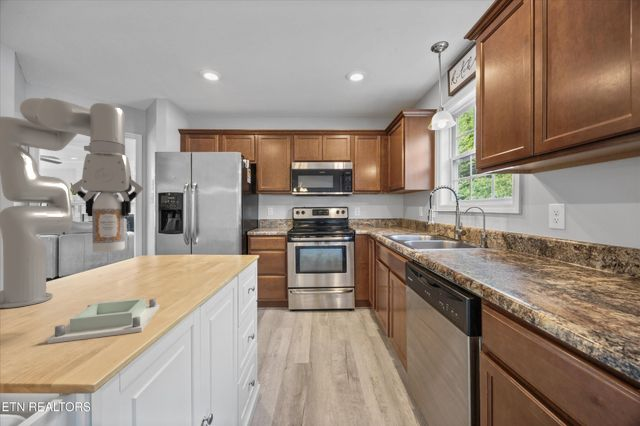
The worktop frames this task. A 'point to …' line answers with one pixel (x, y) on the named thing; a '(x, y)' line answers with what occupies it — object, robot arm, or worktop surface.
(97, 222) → the bath foam
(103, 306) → the dock
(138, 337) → the worktop surface
